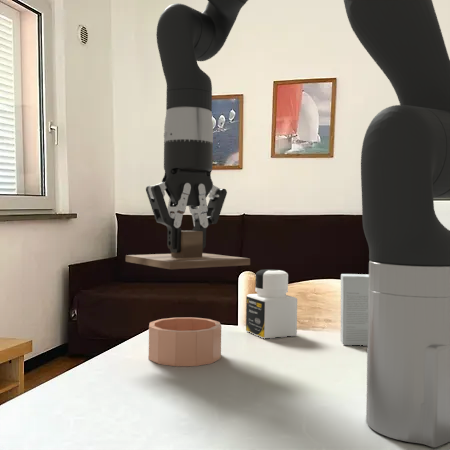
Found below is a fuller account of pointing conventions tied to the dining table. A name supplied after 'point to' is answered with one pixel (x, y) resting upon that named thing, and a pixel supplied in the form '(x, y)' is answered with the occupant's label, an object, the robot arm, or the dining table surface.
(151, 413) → the dining table surface
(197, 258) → the walnut lid
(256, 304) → the medicine bottle
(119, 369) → the dining table surface
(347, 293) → the skincare box
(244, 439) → the dining table surface
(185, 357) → the terracotta bowl
